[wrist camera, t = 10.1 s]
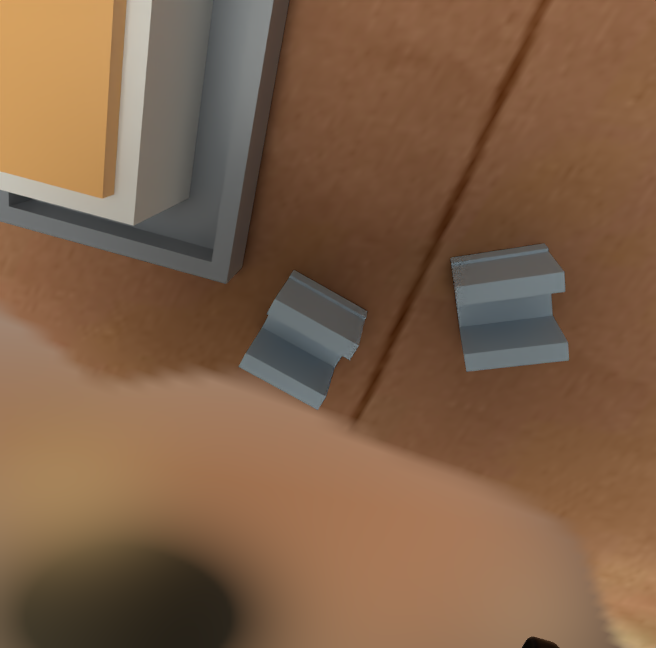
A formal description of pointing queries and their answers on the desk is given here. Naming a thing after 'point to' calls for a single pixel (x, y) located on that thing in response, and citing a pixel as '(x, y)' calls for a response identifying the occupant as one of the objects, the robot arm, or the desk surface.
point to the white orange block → (101, 102)
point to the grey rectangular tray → (197, 159)
